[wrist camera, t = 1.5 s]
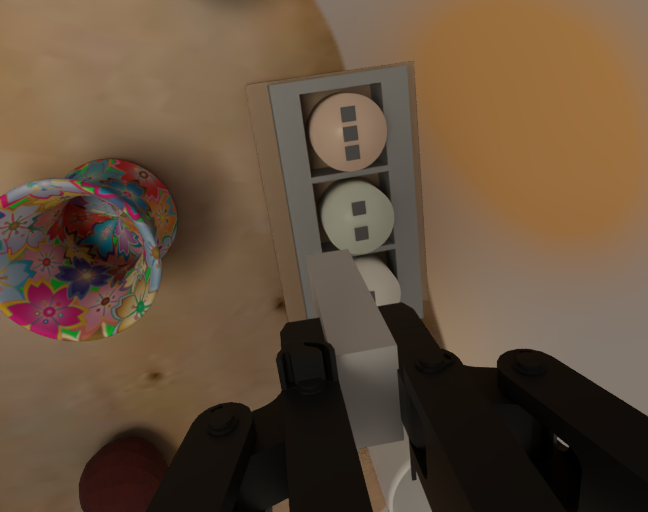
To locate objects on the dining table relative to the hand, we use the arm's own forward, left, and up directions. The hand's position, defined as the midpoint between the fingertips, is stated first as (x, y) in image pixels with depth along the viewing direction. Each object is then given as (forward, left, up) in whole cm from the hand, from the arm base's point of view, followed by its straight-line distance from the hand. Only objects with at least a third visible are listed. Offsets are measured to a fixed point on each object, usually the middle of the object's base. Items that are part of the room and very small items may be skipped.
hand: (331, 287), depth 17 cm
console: (+4, -2, -20) cm, 21 cm away
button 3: (+4, +3, -18) cm, 19 cm away
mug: (-14, 0, -21) cm, 25 cm away
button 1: (+4, -8, -18) cm, 20 cm away
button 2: (+4, -2, -18) cm, 18 cm away
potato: (-18, -23, -21) cm, 36 cm away
